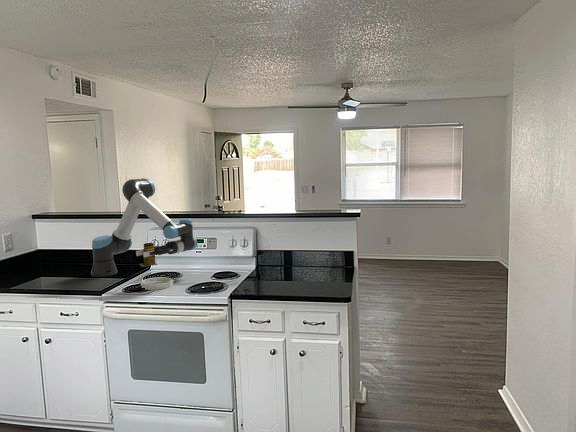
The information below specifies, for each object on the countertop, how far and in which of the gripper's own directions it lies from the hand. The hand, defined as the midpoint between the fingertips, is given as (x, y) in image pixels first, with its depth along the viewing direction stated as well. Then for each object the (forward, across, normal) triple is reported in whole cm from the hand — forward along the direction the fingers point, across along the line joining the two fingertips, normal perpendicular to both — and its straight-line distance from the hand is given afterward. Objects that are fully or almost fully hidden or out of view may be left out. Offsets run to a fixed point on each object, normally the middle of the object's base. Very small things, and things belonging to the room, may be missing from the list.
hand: (140, 254), depth 251 cm
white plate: (-8, -3, -19) cm, 21 cm away
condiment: (-5, 0, -7) cm, 9 cm away
